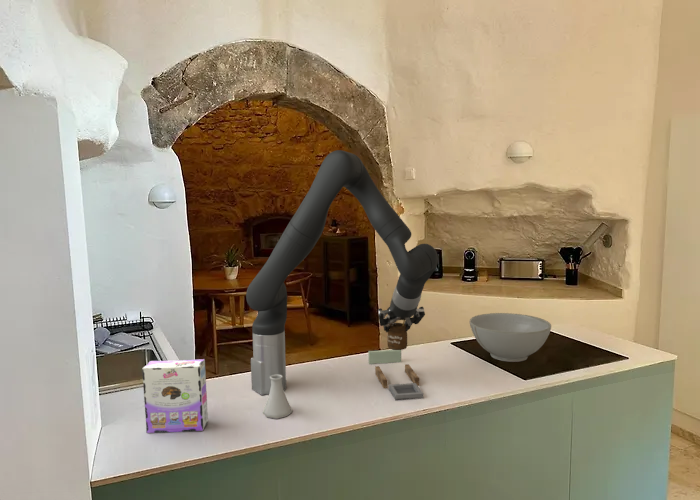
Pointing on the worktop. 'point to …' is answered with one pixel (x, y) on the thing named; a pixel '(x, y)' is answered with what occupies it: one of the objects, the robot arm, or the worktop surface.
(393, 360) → the end stop
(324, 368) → the worktop surface
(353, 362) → the worktop surface
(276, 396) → the flask
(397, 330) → the brown jar with stick
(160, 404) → the candy box
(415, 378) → the channel
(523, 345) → the decorative bowl
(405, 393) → the grey flat square tray
